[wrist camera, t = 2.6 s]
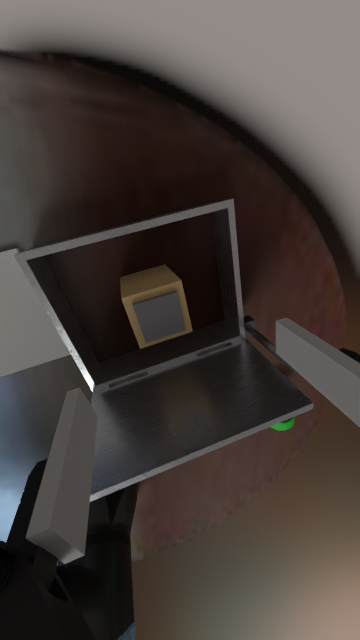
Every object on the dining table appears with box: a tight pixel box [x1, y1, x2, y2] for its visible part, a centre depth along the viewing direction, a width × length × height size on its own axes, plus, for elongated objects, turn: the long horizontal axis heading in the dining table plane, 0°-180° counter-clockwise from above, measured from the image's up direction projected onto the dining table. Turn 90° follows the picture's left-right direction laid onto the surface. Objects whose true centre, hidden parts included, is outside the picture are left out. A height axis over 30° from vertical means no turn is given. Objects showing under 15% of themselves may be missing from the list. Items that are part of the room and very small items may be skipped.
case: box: [13, 199, 314, 502], centre depth 22 cm, size 23×18×17 cm
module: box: [120, 264, 192, 349], centre depth 25 cm, size 6×6×9 cm
